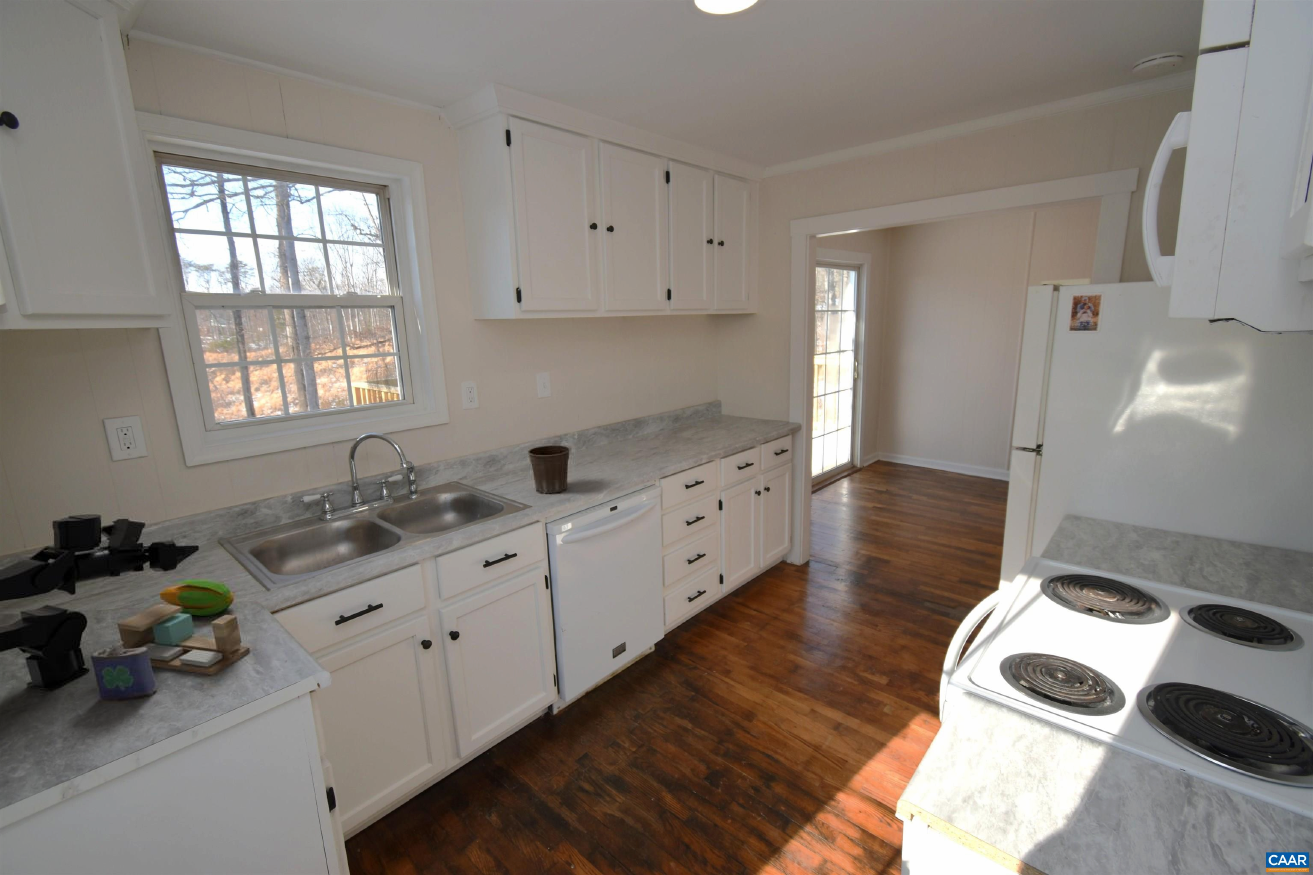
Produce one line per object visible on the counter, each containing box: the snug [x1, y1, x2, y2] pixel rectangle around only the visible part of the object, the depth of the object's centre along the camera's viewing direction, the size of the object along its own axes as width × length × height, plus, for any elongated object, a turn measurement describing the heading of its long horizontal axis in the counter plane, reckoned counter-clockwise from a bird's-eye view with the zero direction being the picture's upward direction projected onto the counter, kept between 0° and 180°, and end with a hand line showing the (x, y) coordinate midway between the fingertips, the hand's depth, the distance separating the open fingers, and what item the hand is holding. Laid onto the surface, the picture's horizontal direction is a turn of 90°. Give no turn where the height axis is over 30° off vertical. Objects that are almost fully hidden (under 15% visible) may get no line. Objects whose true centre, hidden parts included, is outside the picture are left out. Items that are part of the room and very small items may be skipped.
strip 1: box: [154, 614, 242, 654], centre depth 118 cm, size 3×19×7 cm, turn 77°
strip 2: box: [140, 643, 222, 667], centre depth 115 cm, size 3×19×1 cm, turn 77°
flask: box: [90, 640, 158, 702], centre depth 104 cm, size 9×3×11 cm, turn 95°
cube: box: [152, 613, 196, 646], centre depth 119 cm, size 4×4×4 cm
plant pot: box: [527, 445, 571, 495], centre depth 223 cm, size 16×16×16 cm
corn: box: [159, 579, 235, 617], centre depth 136 cm, size 7×8×20 cm
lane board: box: [117, 603, 251, 676], centre depth 116 cm, size 8×22×9 cm, turn 77°
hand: (184, 547), depth 131 cm, fingers open, 9 cm apart
